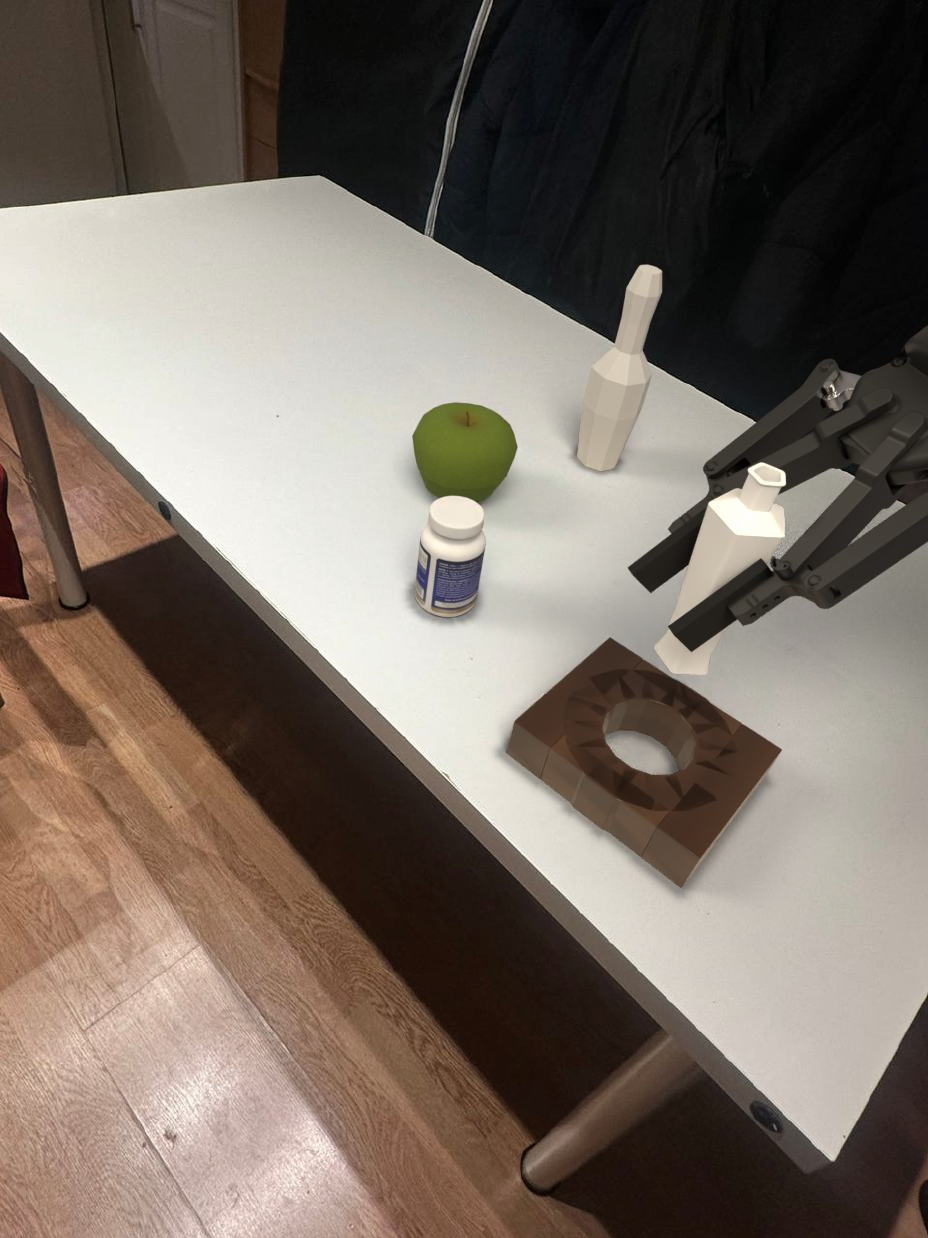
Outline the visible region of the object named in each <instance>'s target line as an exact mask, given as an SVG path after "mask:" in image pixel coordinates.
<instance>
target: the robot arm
mask: <svg viewBox="0 0 928 1238" xmlns="http://www.w3.org/2000/svg"><path fill="white" fill-rule="evenodd" d="M847 401H848V402H847ZM845 402H847V405H846V407H845V408H844V409H843V405H844V403H845ZM832 411H835V412H836V413H834V414H833V415H830V413H832ZM829 415H830V416H829ZM828 416H829V417H828ZM812 430H813V431H812ZM810 431H811V432H810ZM809 432H810V433H809ZM838 441H839V443H840V444H839V443H838ZM758 463H766V464H768V465H770V466H773V467H775V468H778V469H780V470H782V471H784V472H785V476H786V485H785V486H783V487H781V489H780V491H779V493H778V495H777V496H780V495H781V494H783V493H785V492H787V491H790V490H792V489H793V488H795V487H797V486H800V485H802V484H804V483H805V482H807V481H809V480H811V479H813V478H815V477H817V476H819V475H821V474H822V473H824V472H827V471H829V470H832V469H835V470H840V469H841V470H842V469H844V468H845V467H848V466H850V465H851V464H856V465H858V468H857V470H856V472H855V476H854V478H853V479H852V480H851V482H850V483H848V484H847V486H846V487H845V488H844V489H843V490H842V491H841V492H840V493H839V494H838V496H837V497H835V499H834V500H833V501H832V502H831V503H830V504H829V505H828V506H827V507H826V509H825V510H824V511H822V513H821V514H820V515H819V516H818V518H816V519H815V521H814V522H812V523H811V525H810V526H809V527H808V528H807V529H806V530H805V531H804V533H802V535H800V536H799V537H798V539H797V540H796V541H795V542H794V543H793V544H791V546H790V547H789V549H787V551H785V553H784V554H783V555H782V556H781V557H780V558H776V557H775V556H774V555H773V556H772V557H771V559H770V561H769V563H770V566H769V565H768V564H766V563H765V562H764V561H763V560H762V558H761V559H759V560H758V561H756V562H755V563H754V564H752V565H751V566H750V567H748V568H747V569H745V570H744V571H743V572H741V573H740V574H739V575H737V576H736V577H735V578H733V579H732V580H730V581H729V582H728V583H726V584H725V585H724V586H722V587H721V588H720V589H718V590H717V591H715V592H714V593H713V594H711V595H710V596H709V597H707V598H706V599H704V600H703V601H702V602H700V603H699V604H698V605H696V606H695V607H694V608H692V609H691V610H689V611H688V612H687V613H685V614H684V615H683V616H681V617H680V618H678V619H677V620H676V621H674V622H673V623H672V624H670V623H669V624H670V625H668V626H667V627H668V628H669V629H670V631H671V632H672V633H673V635H674V636H675V637H676V638H677V639H678V640H679V641H680V642H681V643H682V644H683V645H684V646H685V647H686V648H687V649H688V650H689V651H691V652H693V651H694V650H695V649H697V648H698V647H700V646H701V645H702V644H704V643H705V642H707V641H708V640H709V639H711V638H712V637H714V636H715V635H716V634H718V633H719V632H721V631H722V630H723V629H725V628H726V627H727V628H728V627H729V626H731V625H732V624H734V623H735V622H736V621H738V622H739V623H740V625H742V626H743V627H745V626H749V625H751V624H754V623H755V622H756V621H758V620H759V619H761V618H762V617H764V616H765V615H766V614H767V613H769V612H771V611H772V610H774V609H775V608H776V607H778V606H779V605H780V604H782V603H783V602H784V601H786V600H788V599H790V598H791V597H801V598H804V599H806V600H808V601H810V602H812V603H814V604H815V605H816V607H818V608H819V609H821V610H830V609H831V608H833V607H835V606H837V604H839V603H841V602H842V601H843V600H845V599H846V598H848V597H850V596H851V595H852V594H854V593H855V592H857V591H858V590H860V589H861V588H862V587H865V585H867V584H868V583H870V582H871V581H873V580H874V579H875V578H878V577H879V576H880V575H882V574H883V573H884V572H886V571H888V570H889V569H890V568H892V567H894V565H896V564H898V563H899V562H900V561H902V560H903V559H905V558H906V557H908V556H909V555H911V554H912V553H914V552H915V551H917V550H918V549H919V548H921V547H922V546H925V544H927V543H928V490H927V491H926V492H924V493H922V494H920V495H918V496H917V497H915V498H914V499H913V500H911V501H910V502H907V503H906V504H905V505H904V506H902V507H901V508H900V509H898V510H897V511H895V512H894V513H892V514H891V515H889V516H888V517H886V518H885V519H883V520H882V521H881V522H879V523H878V524H877V525H875V526H873V527H872V528H871V529H870V530H868V531H867V532H865V533H864V534H862V535H861V536H860V537H858V536H859V535H860V533H862V531H864V530H865V528H867V526H868V525H869V524H870V523H871V522H872V521H873V520H874V519H875V518H876V517H877V516H878V515H879V514H880V513H881V511H883V510H887V509H889V508H891V507H892V506H893V505H894V504H895V503H896V502H897V501H898V500H899V498H901V496H902V495H903V494H905V492H906V491H907V490H908V489H909V488H910V487H911V486H912V485H913V484H915V483H921V482H927V481H928V324H927V325H926V326H925V327H923V328H922V329H921V330H920V331H918V332H916V334H914V335H913V336H912V337H910V338H909V339H908V340H907V341H906V343H905V344H904V345H903V347H902V348H901V350H900V351H899V353H898V354H897V355H896V356H895V358H894V359H893V360H892V361H890V362H889V363H886V364H884V365H882V366H879V367H877V368H874V369H871V370H869V371H867V372H865V373H864V374H862V375H860V374H856V373H851V372H848V371H845V370H841V369H840V368H839V365H838V362H836V360H835V359H833V358H826V359H823V360H822V361H820V362H818V364H817V365H816V366H815V367H814V369H813V370H812V372H811V373H810V374H809V375H808V377H807V378H806V379H805V381H804V382H803V384H801V386H800V387H799V388H798V389H797V390H795V391H794V392H793V393H792V394H790V395H789V396H788V397H787V398H785V399H784V400H782V401H781V402H780V403H779V404H778V405H776V406H775V407H774V408H772V409H771V410H770V411H769V412H768V413H766V414H765V415H764V416H763V417H761V418H760V419H759V420H757V421H756V422H755V423H753V424H752V425H751V426H750V427H748V429H746V430H745V431H743V433H741V434H740V435H739V436H737V437H736V438H735V439H733V440H731V442H729V444H727V445H726V446H725V447H724V448H722V449H721V450H720V451H718V452H717V453H716V454H715V455H713V456H712V457H711V458H709V459H708V460H707V461H706V462H705V463H704V464H703V467H702V471H703V474H704V475H705V477H706V480H707V481H706V482H707V484H708V492H707V494H706V495H705V497H703V498H702V499H701V500H700V501H698V502H697V503H695V505H693V506H692V507H691V508H689V509H688V510H687V511H685V512H684V513H683V514H682V515H680V516H678V517H677V518H676V519H675V520H674V521H672V523H671V524H670V526H669V527H668V528H667V530H668V531H669V533H670V534H669V535H668V536H667V537H665V538H664V539H663V540H661V541H660V542H659V543H657V544H656V545H654V547H652V548H651V549H649V550H648V551H647V552H646V553H644V554H643V555H641V556H640V557H639V558H638V559H636V560H635V561H634V562H633V563H631V564H630V565H628V566H627V569H628V571H629V572H630V574H631V575H632V576H633V578H635V579H636V580H637V582H639V583H640V584H641V586H643V588H644V589H645V590H646V591H648V592H649V594H652V593H654V592H655V591H656V590H657V589H658V588H660V587H661V586H663V585H664V584H665V583H667V582H668V581H669V580H671V579H672V578H673V577H675V576H676V575H678V574H679V573H681V571H683V570H684V569H685V568H688V565H689V562H690V559H691V556H692V553H693V550H694V547H695V544H696V541H697V537H698V534H699V531H700V528H701V525H702V522H703V519H704V516H705V513H706V509H707V506H708V503H709V502H710V501H712V500H714V499H716V498H718V497H720V496H722V495H724V494H726V493H728V492H729V491H731V490H733V489H736V488H739V489H742V488H743V486H744V484H745V481H746V479H747V477H748V475H749V473H748V469H749V468H750V467H752V466H754V465H756V464H758ZM857 537H858V538H857ZM856 538H857V539H856ZM770 567H771V568H770ZM668 628H667V629H668Z"/></svg>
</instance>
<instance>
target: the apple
mask: <svg viewBox="0 0 928 1238" xmlns="http://www.w3.org/2000/svg"><path fill="white" fill-rule="evenodd" d="M416 425H417V426H416V428H415V430H414V431H413V433H412V436H411V438H412V447H413V453H414V459H415V462H416V467H417V470H418V472H419V474H420V478H421V480H422V482H423V485H424V487H425V489H426V490H427V491H428V492H429V493H430V494H431V495H432V496H433V497H435V498H437V499H439V498H442V497H446V496H461V497H466V498H469V499H471V500H473V501H475V502H480V501H484V500H485V499H487V498H489V497H490V496H491V495H492V494H493V493H494V492H495V491H496V490H497V489H498V487H499V486H500V485H501V484H502V483H503V482H504V481H505V480H506V478H507V476H508V474H509V471H510V469H511V467H512V465H513V463H514V461H515V458H516V455H517V451H518V447H519V446H518V444H517V439H516V436H515V433H514V430H513V428H512V426H511V423H509V422H508V420H506V419H505V418H504V417H503V416H502V415H501V414H499V413H498V412H497V411H495V410H493V409H491V408H488V407H486V406H484V405H480V404H475V403H470V402H457V401H456V402H454V401H453V402H449V403H443V404H439V405H437V406H435V407H432V408H431V409H429V410H428V411H427V412H425V413H424V414H423V415H422V417H421V418H420V420H419V422H418V424H416Z"/></svg>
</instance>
